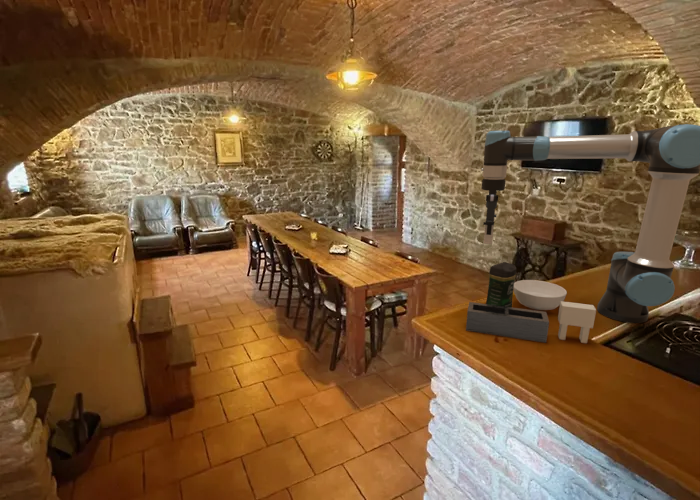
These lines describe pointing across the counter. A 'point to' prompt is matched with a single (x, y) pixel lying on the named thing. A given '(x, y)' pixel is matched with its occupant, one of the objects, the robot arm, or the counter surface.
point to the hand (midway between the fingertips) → (488, 239)
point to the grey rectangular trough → (507, 322)
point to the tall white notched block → (576, 318)
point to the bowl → (539, 294)
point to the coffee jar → (501, 284)
